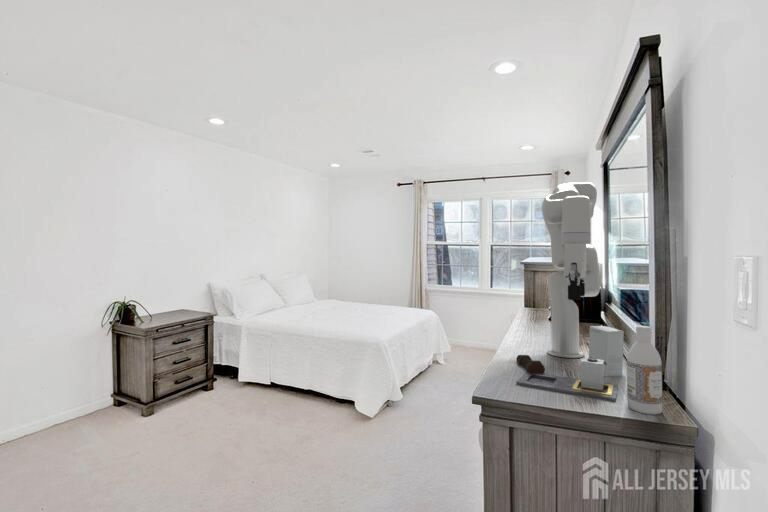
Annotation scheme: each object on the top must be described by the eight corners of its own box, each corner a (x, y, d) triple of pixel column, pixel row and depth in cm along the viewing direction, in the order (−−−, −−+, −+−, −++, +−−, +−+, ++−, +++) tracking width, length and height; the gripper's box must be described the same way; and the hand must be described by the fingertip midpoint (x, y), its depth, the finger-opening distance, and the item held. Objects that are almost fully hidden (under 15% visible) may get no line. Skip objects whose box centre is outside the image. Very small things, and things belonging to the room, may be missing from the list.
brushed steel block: (583, 386, 107) (583, 356, 107) (604, 389, 104) (603, 358, 104) (581, 391, 103) (580, 360, 103) (602, 395, 100) (602, 363, 100)
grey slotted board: (527, 377, 119) (527, 370, 119) (618, 391, 105) (618, 384, 105) (516, 388, 109) (516, 381, 109) (615, 405, 95) (615, 397, 95)
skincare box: (587, 372, 123) (587, 325, 123) (604, 371, 124) (603, 325, 124) (607, 380, 115) (606, 330, 115) (625, 379, 116) (624, 329, 116)
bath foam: (645, 416, 88) (644, 329, 89) (620, 405, 95) (619, 324, 95) (669, 413, 90) (668, 328, 90) (643, 403, 97) (642, 323, 97)
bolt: (523, 369, 133) (539, 382, 118) (510, 362, 133) (524, 374, 118) (531, 355, 133) (548, 365, 118) (518, 347, 134) (533, 357, 119)
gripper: (566, 239, 121) (567, 293, 122) (557, 239, 107) (557, 300, 107) (593, 239, 117) (593, 295, 117) (587, 238, 103) (587, 302, 103)
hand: (576, 297), depth 112 cm, fingers open, 9 cm apart
